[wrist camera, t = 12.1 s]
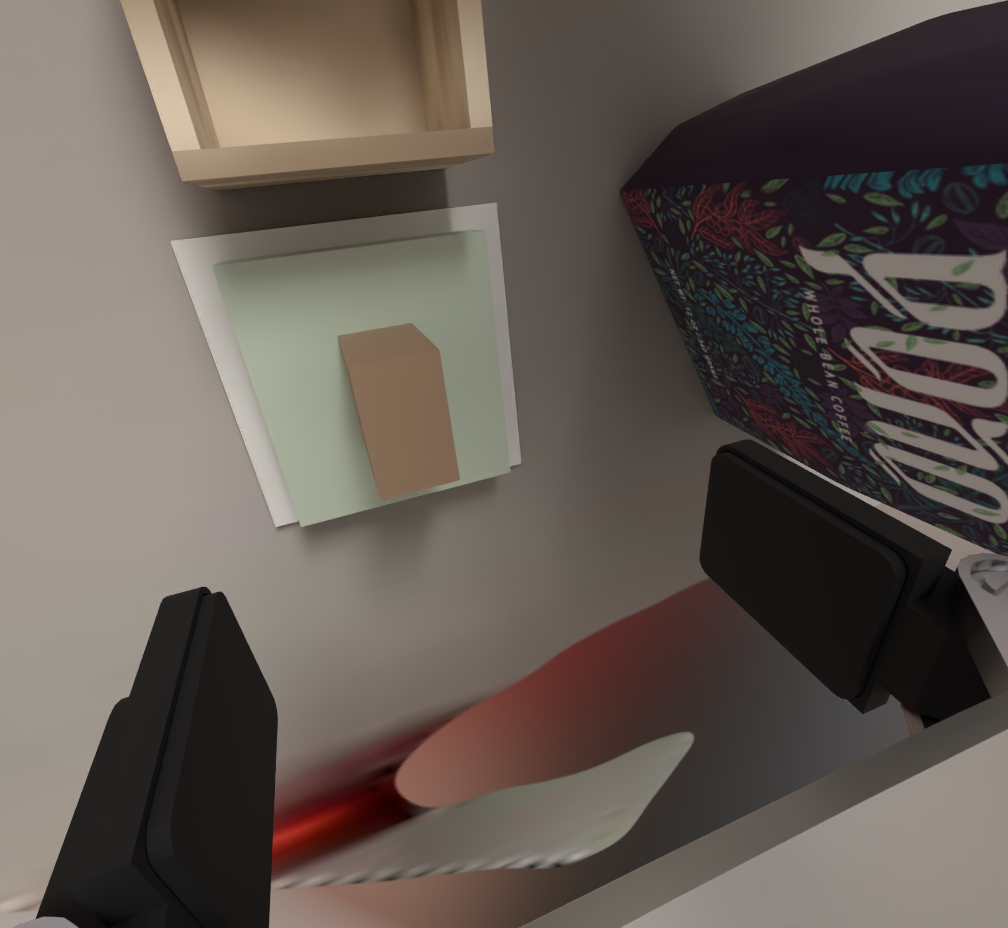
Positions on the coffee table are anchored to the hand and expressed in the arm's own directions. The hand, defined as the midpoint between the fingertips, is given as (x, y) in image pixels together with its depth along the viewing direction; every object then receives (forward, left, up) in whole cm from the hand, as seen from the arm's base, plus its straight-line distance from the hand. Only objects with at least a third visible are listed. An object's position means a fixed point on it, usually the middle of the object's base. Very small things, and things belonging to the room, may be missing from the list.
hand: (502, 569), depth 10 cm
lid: (+1, 0, -17) cm, 17 cm away
